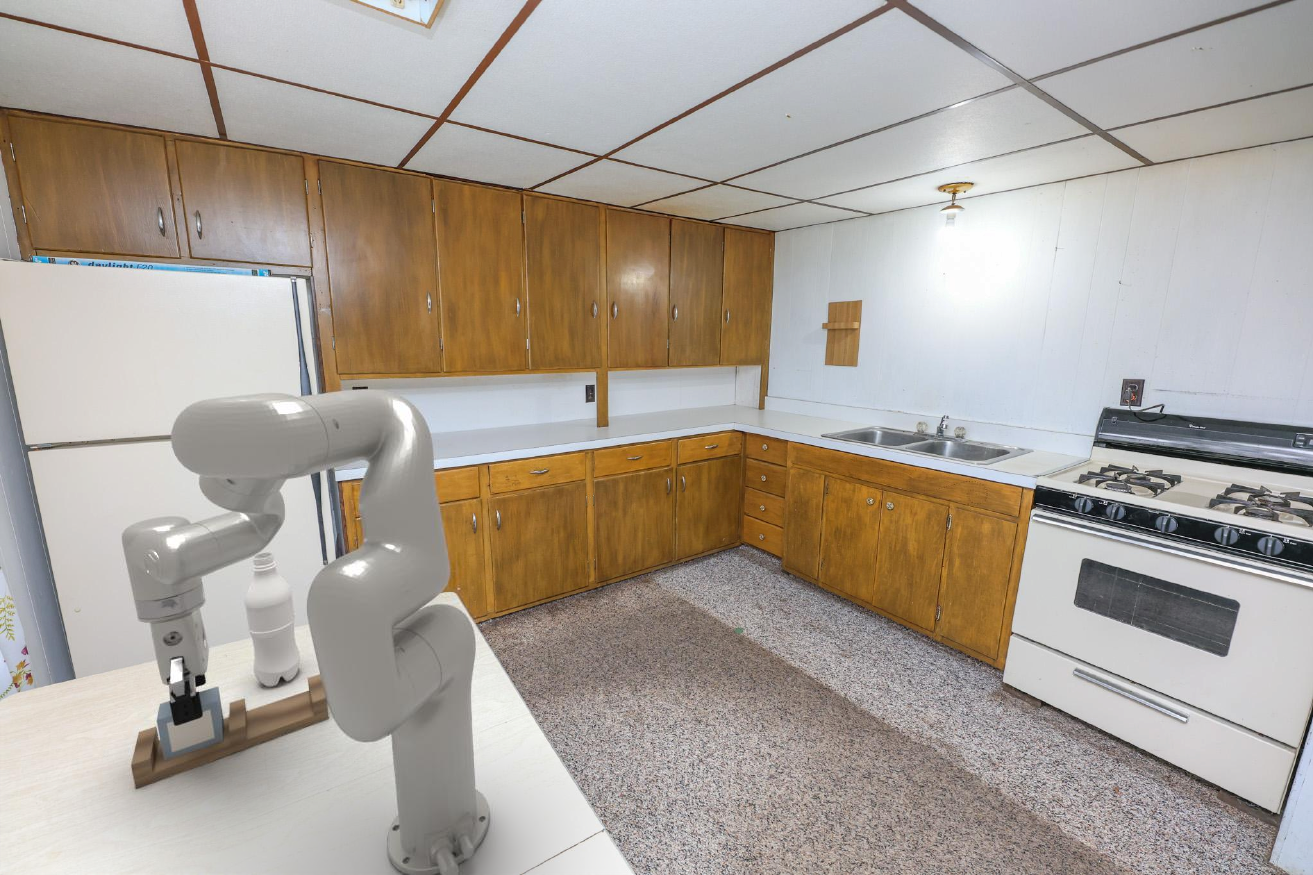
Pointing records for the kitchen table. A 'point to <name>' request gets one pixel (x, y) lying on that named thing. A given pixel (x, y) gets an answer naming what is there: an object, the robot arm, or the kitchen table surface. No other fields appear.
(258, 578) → the water bottle
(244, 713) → the wooden divided rack
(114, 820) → the kitchen table surface
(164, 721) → the blue-grey rectangular block
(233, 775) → the kitchen table surface
